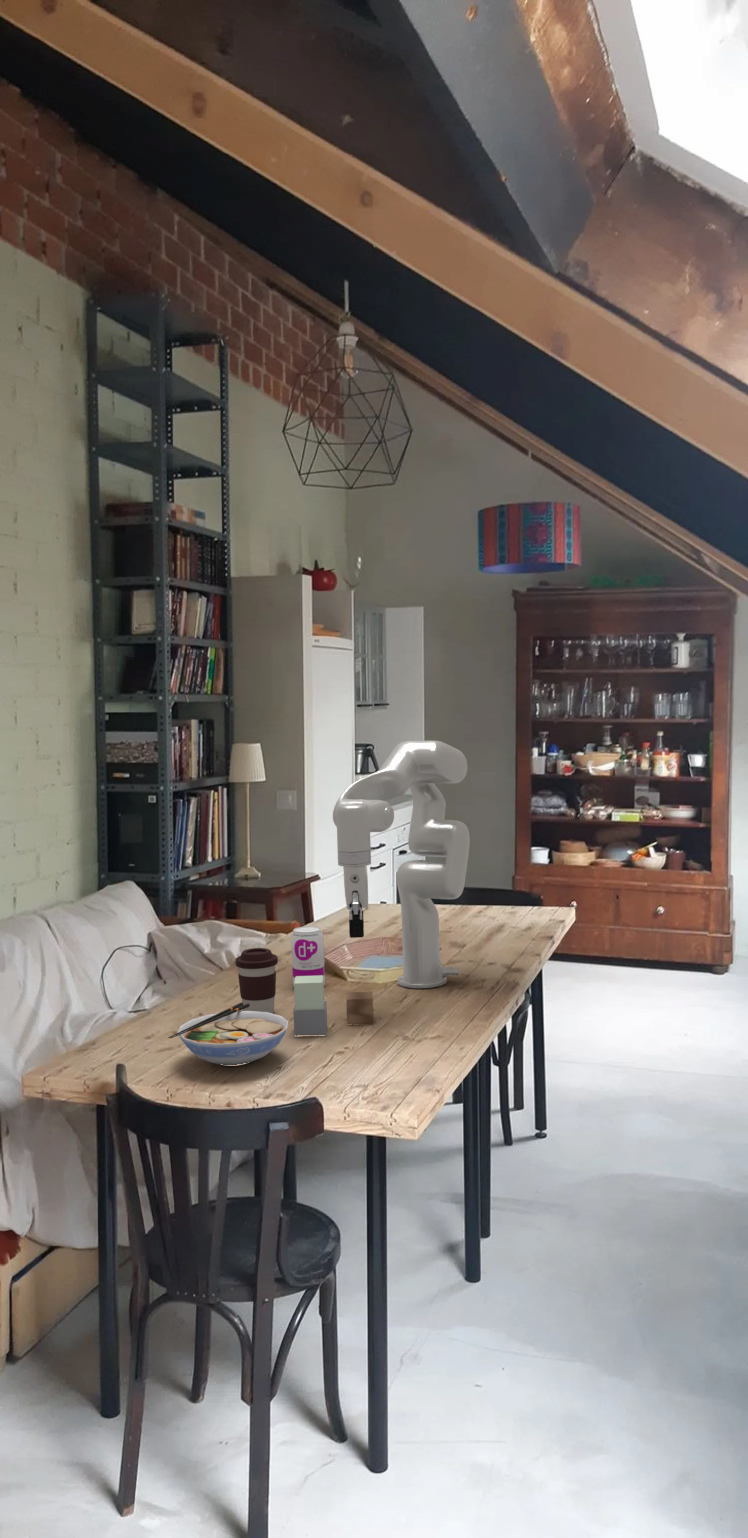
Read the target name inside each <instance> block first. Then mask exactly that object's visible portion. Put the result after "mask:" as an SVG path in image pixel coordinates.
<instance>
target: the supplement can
mask: <svg viewBox="0 0 748 1538" xmlns="http://www.w3.org/2000/svg"><path fill="white" fill-rule="evenodd" d="M290 940H291V941H290V942H291V945H290V947H291V966H292V967H291V968H292V971H291V972H292V986H293V987H294V982H295V977H296V976H318V975H323V980H324V986H326V985H325V984H326V975H325V974H326V972H325V971H326V970H325V969H326V968H325V946H324V945H325V944H324V941H325V940H324V933H323V931H322V929H321V927H318V926H300V927H295V928H294V929H293V931H292V933H291V936H290Z"/></svg>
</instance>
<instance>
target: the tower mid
mask: <svg viewBox="0 0 748 1538" xmlns="http://www.w3.org/2000/svg"><path fill="white" fill-rule="evenodd" d="M324 986H325V985H324V980H323V975H318V976H296V977H295V982H294V986H293V989H294V991H293V992H294V993H293V994H294V995H293V996H294V1006H295V1010H320V1009H323V1008H324V1001H325V987H324Z"/></svg>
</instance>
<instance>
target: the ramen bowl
mask: <svg viewBox="0 0 748 1538" xmlns="http://www.w3.org/2000/svg"><path fill="white" fill-rule="evenodd" d="M247 1007H250V1005H249V1004H245V1005H243V1003H242V1002H239V1003H237V1004H235V1005H233V1006H230V1007H229V1008H226V1009H224V1010H222V1011H220V1012H217V1013H211V1014H205V1015H202V1016H199V1017H196V1018H193V1019H189V1020H188V1021H186V1022H185V1023H183V1024H181V1025H180V1026H179V1027H178V1030H177V1033H174V1034H172V1035H170V1036H168V1037H167V1038H168V1039H173V1038H176V1037H179V1038H180V1039H181V1041H182V1042H183V1044H184V1045H185V1047H186V1048H187V1049H188V1050H190V1052H191V1053H192V1054H193V1055H194V1056H196V1058H198V1059H201V1060H202V1061H205V1062H208V1063H212V1064H215V1065H218V1064H223V1065H237V1064H243V1063H248V1062H251V1061H252V1062H254V1061H256V1060H259V1059H262V1058H263V1057H266V1056H267V1055H268V1054H269V1053H271V1052H273V1050H275V1049H276V1048H277V1047H278V1045H279V1044H280V1042H281V1041H282V1039H283V1038H284V1036H285V1034H286V1032H287V1029H288V1027H289V1020H287V1019H286V1018H285V1017H284V1016H282V1015H279V1014H275V1013H268V1012H258V1011H243V1009H245V1008H247ZM252 1062H251V1063H252Z"/></svg>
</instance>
